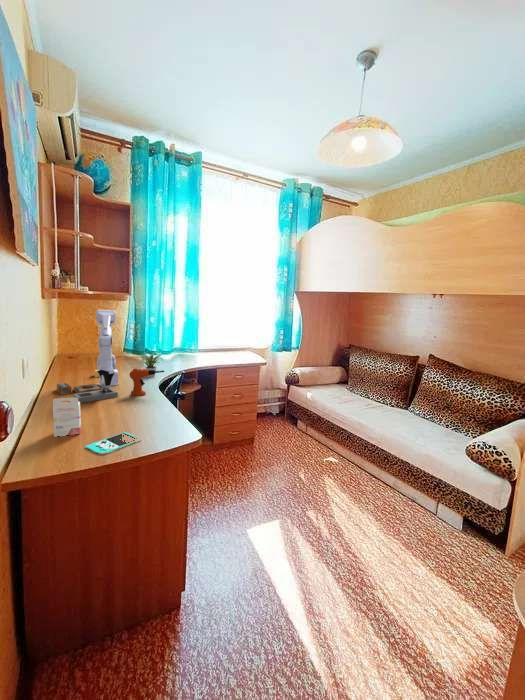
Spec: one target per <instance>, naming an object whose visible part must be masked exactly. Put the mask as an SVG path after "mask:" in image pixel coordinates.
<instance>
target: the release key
mask: <svg viewBox="0 0 525 700" xmlns="http://www.w3.org/2000/svg"><path fill="white" fill-rule="evenodd" d="M64 383H65V382H59V383H58V384H59V385H61V386H62V387H68V386H67V385H65V384H64Z"/></svg>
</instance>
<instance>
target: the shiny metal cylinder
mask: <svg viewBox="0 0 525 700" xmlns="http://www.w3.org/2000/svg"><path fill="white" fill-rule="evenodd" d="M101 377H102V387H101V390H102V392H103V393H107V392H110V389H111V386H110V385H109V386H106V385H105V380H104V376H103V374H102V375H101Z"/></svg>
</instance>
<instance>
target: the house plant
mask: <svg viewBox="0 0 525 700" xmlns="http://www.w3.org/2000/svg"><path fill="white" fill-rule="evenodd" d="M148 354H149V357H147V355H145V354H143V356H142V357H143V358H144V359H145V361H143V362H142V364H145V365H146V366H145V368H144V369H147V370H155V371H157V366H156V365H155V364H157V363H158V364H160V361H159V362H158V358H159V357H160V354H158V355H156V356H155V357H154V352H152V354H151V353H148ZM154 365H155V366H154ZM154 377H156V373H155V374H154V375H149V376H147V377H146V378H154Z"/></svg>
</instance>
